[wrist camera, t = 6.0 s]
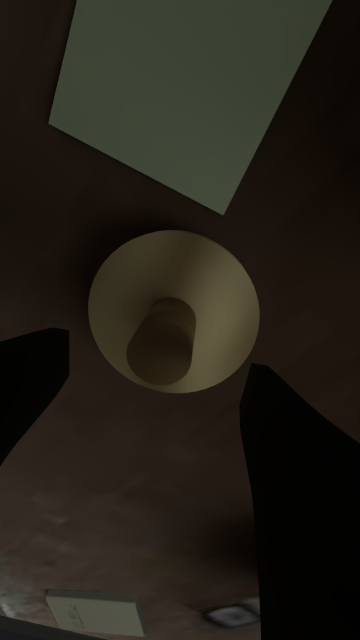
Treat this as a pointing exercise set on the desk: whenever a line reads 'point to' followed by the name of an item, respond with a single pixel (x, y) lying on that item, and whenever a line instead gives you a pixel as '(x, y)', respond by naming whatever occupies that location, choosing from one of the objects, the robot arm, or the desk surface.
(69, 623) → the external hard drive
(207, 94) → the mat
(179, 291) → the lid
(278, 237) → the desk surface
